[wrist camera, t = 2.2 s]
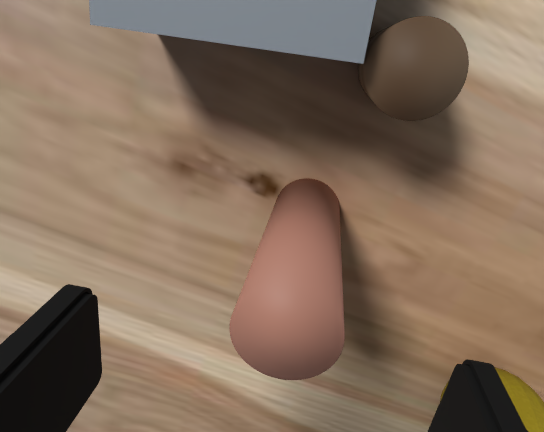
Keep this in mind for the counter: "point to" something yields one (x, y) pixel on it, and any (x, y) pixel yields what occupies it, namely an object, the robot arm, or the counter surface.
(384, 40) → the short pin
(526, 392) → the lemon
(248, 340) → the long pin
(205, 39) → the hole block
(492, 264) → the counter surface
